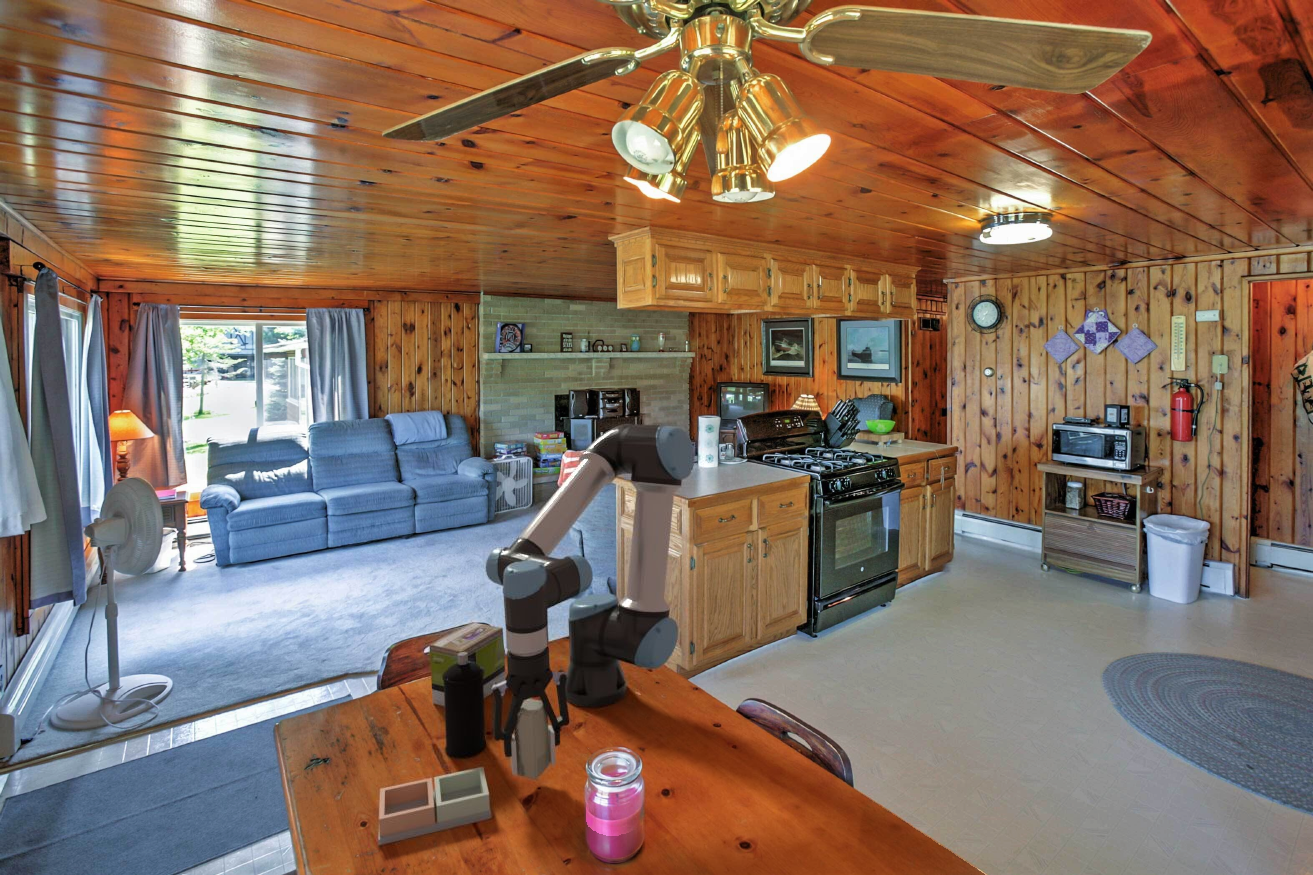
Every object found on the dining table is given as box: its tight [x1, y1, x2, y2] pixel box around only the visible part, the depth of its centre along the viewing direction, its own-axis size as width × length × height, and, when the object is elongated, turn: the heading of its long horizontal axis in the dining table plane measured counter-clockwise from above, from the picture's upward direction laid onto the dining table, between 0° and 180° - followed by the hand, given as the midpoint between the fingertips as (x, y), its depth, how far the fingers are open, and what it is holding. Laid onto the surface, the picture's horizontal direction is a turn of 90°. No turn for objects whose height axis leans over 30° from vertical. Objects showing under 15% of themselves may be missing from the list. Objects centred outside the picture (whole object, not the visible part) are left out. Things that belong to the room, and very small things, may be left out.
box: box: [513, 698, 551, 781], centre depth 123 cm, size 5×4×13 cm
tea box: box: [428, 621, 507, 708], centre depth 158 cm, size 15×10×15 cm
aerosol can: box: [442, 652, 488, 760], centre depth 136 cm, size 8×8×20 cm
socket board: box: [377, 766, 492, 846], centre depth 116 cm, size 18×10×4 cm, turn 111°
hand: (533, 765), depth 124 cm, fingers closed on box, 6 cm apart
